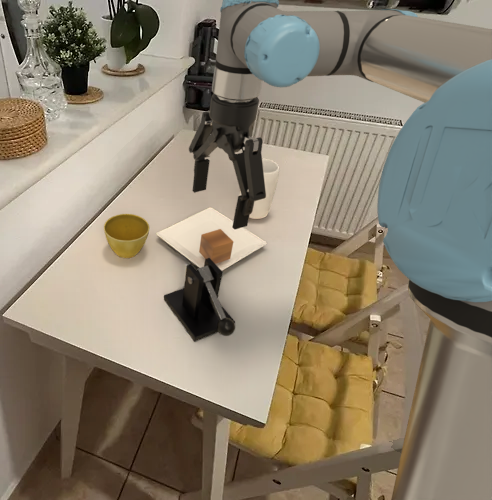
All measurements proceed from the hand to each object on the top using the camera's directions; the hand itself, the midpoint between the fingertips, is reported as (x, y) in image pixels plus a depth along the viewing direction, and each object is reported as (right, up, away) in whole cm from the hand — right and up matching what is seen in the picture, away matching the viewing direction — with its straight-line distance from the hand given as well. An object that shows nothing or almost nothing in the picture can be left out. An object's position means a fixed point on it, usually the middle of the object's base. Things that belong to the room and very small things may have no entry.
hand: (218, 207), depth 81 cm
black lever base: (-3, -20, +4) cm, 21 cm away
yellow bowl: (-18, -9, +18) cm, 27 cm away
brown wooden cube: (+2, -9, +14) cm, 17 cm away
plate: (+2, -7, +21) cm, 22 cm away
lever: (-2, -18, -2) cm, 18 cm away
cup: (+14, +1, +31) cm, 34 cm away
